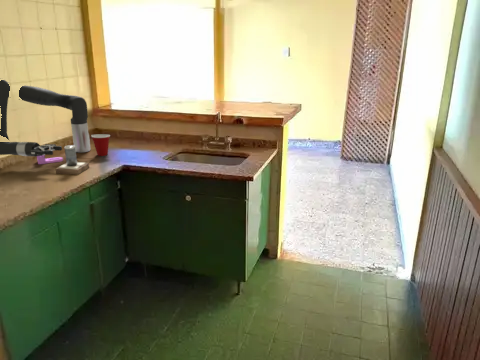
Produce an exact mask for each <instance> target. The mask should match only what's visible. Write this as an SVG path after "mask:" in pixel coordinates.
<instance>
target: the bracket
mask: <svg viewBox="0 0 480 360" xmlns="http://www.w3.org/2000/svg"><path fill="white" fill-rule="evenodd" d="M45 156H46V155H43V156H36V159H37V164H38V165H45V164H51V163H52V164H53V163H60V162H63V161H64V157H61V156H57V157H55V156H54V157H50V158H49V157H48V158H46V157H45Z"/></svg>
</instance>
